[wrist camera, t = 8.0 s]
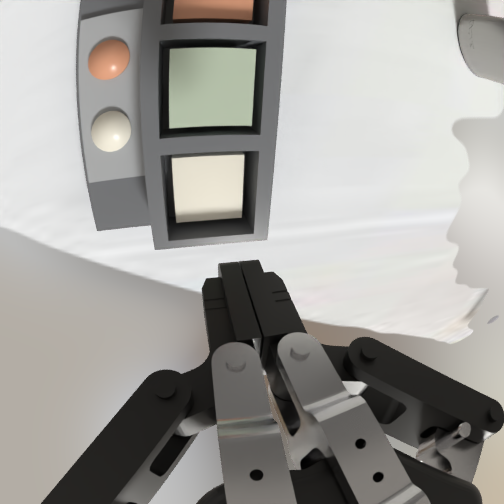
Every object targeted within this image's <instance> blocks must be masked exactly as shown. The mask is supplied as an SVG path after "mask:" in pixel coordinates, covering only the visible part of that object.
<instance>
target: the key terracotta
mask: <svg viewBox="0 0 504 504" xmlns="http://www.w3.org/2000/svg"><path fill="white" fill-rule="evenodd" d="M252 13H253V0H174V10H173V24H176V23H238V24H248V23H249V22H250V21H252Z"/></svg>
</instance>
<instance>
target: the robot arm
mask: <svg viewBox="0 0 504 504" xmlns="http://www.w3.org/2000/svg"><path fill="white" fill-rule="evenodd" d="M458 34H459V42H460V47H461V51H462V54H463V57H464V59H465V61H466V63H467V65H468V67H469V68H470V70H471V71H472V72H473V73H474V74H475V75H476V76H478V77H481V78H485V79H488V80H492V81H495V82H498V83H501V84H504V18H502V17H495V16H488V15H479V14H465V15H463V16H462V17H461V19H460V22H459V29H458ZM202 296H203V306H204V317H205V324H206V331H207V336H208V343H209V350H210V353H209V356H208V358H207V359H206V360H205V362H204V363H203V364H202V365H200V366H199V367H197V368H195V369H193V370H191V371H188V372H186V373H183V374H180V373H179V372H176V371H173V370H159V371H156V372H154V373H152V374H151V375H149V376H148V377H147V378H146V379H145V380H144V382H143V383H142V384H141V385H140V386H139V388H138V389H137V390H136V391H135V392H134V393H133V395H132V396H131V397H130V398H129V399H128V401H127V402H126V403H125V404H124V405H123V407H122V408H121V409H120V410H119V411H118V413H117V414H116V415H115V416H114V417H113V418H112V420H111V421H110V422H109V423H108V425H107V426H106V427H105V428H104V429H103V431H102V432H101V433H100V434H99V435H98V436H97V437H96V439H95V440H94V441H93V442H92V444H91V445H90V446H89V447H88V448H87V449H86V451H85V452H84V453H83V454H82V455H81V457H80V458H79V459H78V460H77V461H76V463H75V464H74V465H73V466H72V467H71V468H70V470H69V471H68V472H67V473H66V474H65V476H64V477H63V478H62V479H61V480H60V481H59V483H58V484H57V485H56V486H55V488H54V489H53V490H52V491H51V492H50V494H49V495H48V496H47V497H46V498H45V499H44V500H43V502H42V503H41V504H148V503H149V502H150V501H151V499H152V498H153V496H154V495H155V494H156V493H157V491H158V490H159V489H160V487H161V486H162V485H163V483H164V481H165V480H166V479H167V478H168V476H169V475H170V473H171V472H172V471H173V469H174V468H175V467H176V465H177V464H178V462H179V461H180V459H181V458H182V457H183V455H184V454H185V452H186V451H187V449H188V448H189V447H190V445H191V444H192V442H193V441H194V439H195V438H196V436H197V435H198V433H199V432H200V431H202V430H205V429H207V428H209V427H211V426H213V425H215V424H217V431H218V441H219V449H220V458H221V465H222V473H223V480H224V483H223V484H221V485H219V486H217V487H215V488H213V489H212V490H211V491H209V492H207V493H206V494H205V495H204V496H203V497H202V498H201V499H200V500H199V501H198V502H197V503H196V504H482V497H481V494H480V492H479V490H478V489H477V487H476V486H475V485H473V484H472V481H473V478H474V475H475V472H476V468H477V465H478V462H479V458H480V455H481V451H482V447H483V443H484V441H485V440H486V439H487V438H489V437H491V436H492V435H494V434H495V433H497V432H498V431H499V430H500V429H501V428H502V426H503V423H504V411H503V409H502V407H501V405H500V404H499V402H497V401H496V400H494V399H492V398H490V397H488V396H486V395H484V394H482V393H480V392H478V391H476V390H474V389H472V388H470V387H468V386H466V385H463V384H462V383H459V382H457V381H455V380H453V379H451V378H449V377H447V376H445V375H443V374H441V373H440V372H438V371H436V370H433V369H432V368H430V367H428V366H426V365H424V364H422V363H420V362H418V361H416V360H414V359H412V358H410V357H408V356H406V355H404V354H402V353H400V352H399V351H396V350H395V349H393V348H391V347H389V346H387V345H385V344H383V343H381V342H379V341H377V340H375V339H373V338H370V337H360V338H357V339H355V340H354V341H352V343H351V344H350V346H349V347H344V346H343V347H342V346H329V345H324V344H321V343H320V342H319V341H318V340H317V339H316V338H314V337H313V336H311V335H309V334H308V333H307V332H306V330H305V328H304V326H303V323H302V321H301V319H300V317H299V315H298V312H297V310H296V308H295V306H294V304H293V302H292V300H291V297H290V295H289V293H288V292H287V289H286V286H285V284H284V282H283V280H282V279H281V278H280V277H279V276H278V275H276V274H275V273H274V272H265V273H264V271H263V269H262V266H261V264H260V262H259V260H250V261H239V263H238V262H230V263H219V264H218V277H217V278H207V279H206V280H205V283H204V285H203V287H202ZM264 375H267V378H268V381H269V388H268V392H269V396H270V398H271V401H272V403H273V406H274V408H275V411H276V413H277V416H278V418H279V420H280V423H281V425H282V428H283V430H284V432H285V435H286V438H287V442H288V450H289V453H290V457H291V459H292V462H293V464H294V466H295V469H296V470H289V468H288V463H287V459H286V455H285V450H284V446H283V441H282V437H281V433H280V429H279V427H278V424H277V422H276V421H275V420H274V419H273V417H272V413H271V408H270V404H269V399H268V394H267V390H266V385H265V380H264ZM385 434H387V435H389V436H392V437H394V438H396V439H398V440H400V441H402V442H404V443H406V444H408V445H411V446H413V447H415V448H417V449H418V451H417V453H416V459H415V458H412V457H411V456H409V455H407V454H404V453H403V452H401V451H399V450H397V449H395V448H392V446H391V444H390V442H389V441H388V439H387V437H386V435H385Z"/></svg>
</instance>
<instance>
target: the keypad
mask: <svg viewBox="0 0 504 504" xmlns="http://www.w3.org/2000/svg"><path fill="white" fill-rule="evenodd" d="M173 10H174V0H81V2H80V10H79V20H78V32H77V53H76V85H77V107H78V120H79V131H80V140H81V148H82V156H83V163H84V169H85V175H86V181H87V186H88V192H89V197H90V202H91V206H92V211H93V215H94V220H95V224H96V228H97V231H102V230H111V229H119V228H129V227H138V226H148V225H151V228H152V235H153V241H154V247H155V250H160V249H171V248H181V247H192V246H203V245H215V244H226V243H237V242H249V241H261V240H267V237H268V226H269V216H270V205H271V195H272V184H273V173H274V161H275V150H276V138H277V126H278V114H279V101H280V88H281V75H282V61H283V47H284V32H285V17H286V0H253V13H252V21H250V22H249V23H248V24H238V23H176V24H173ZM180 48H242V49H256V62H255V79H254V95H253V113H252V126H200V127H183V128H169V61H170V49H180ZM227 151H242V152H243V154H244V176H243V199H242V218H230V219H216V220H204V221H192V222H180V223H176V213H175V201H174V188H173V172H172V155H174V154H187V153H203V152H227Z"/></svg>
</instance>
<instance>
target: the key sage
mask: <svg viewBox="0 0 504 504" xmlns="http://www.w3.org/2000/svg"><path fill="white" fill-rule="evenodd" d="M255 62H256V49H242V48H180V49H170V61H169V128H183V127H200V126H252V113H253V95H254V79H255Z"/></svg>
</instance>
